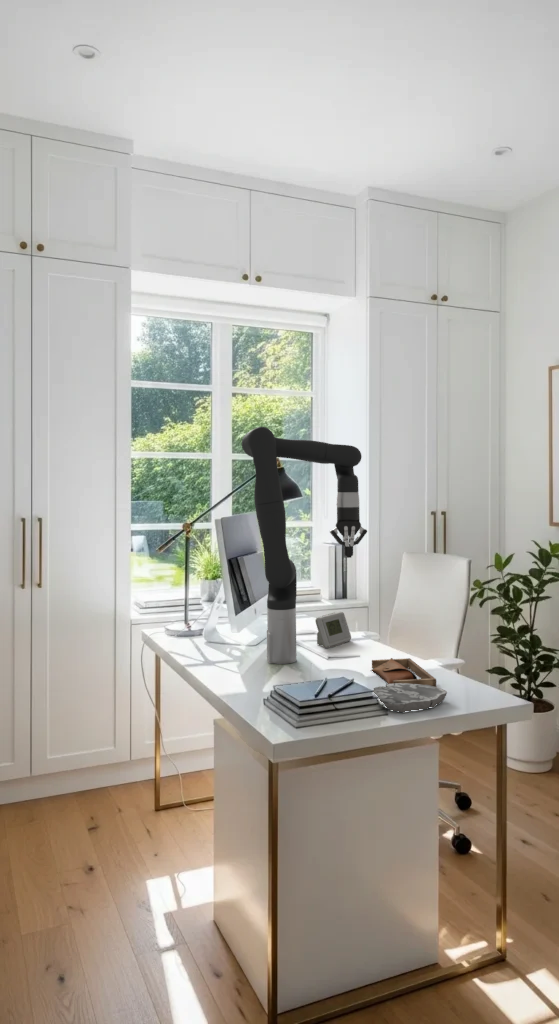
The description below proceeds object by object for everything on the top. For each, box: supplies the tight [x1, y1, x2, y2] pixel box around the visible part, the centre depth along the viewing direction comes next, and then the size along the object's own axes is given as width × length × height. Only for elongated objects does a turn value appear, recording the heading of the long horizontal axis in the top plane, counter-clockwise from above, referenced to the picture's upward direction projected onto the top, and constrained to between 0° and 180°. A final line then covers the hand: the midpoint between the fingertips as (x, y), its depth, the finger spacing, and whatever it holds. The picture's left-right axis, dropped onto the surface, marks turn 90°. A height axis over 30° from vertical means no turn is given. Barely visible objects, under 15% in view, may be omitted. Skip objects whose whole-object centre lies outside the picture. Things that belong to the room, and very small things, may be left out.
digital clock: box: [314, 611, 352, 649], centre depth 252 cm, size 16×9×11 cm, turn 130°
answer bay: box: [371, 657, 437, 687], centre depth 207 cm, size 12×24×2 cm, turn 7°
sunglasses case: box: [371, 657, 418, 684], centre depth 208 cm, size 18×7×7 cm, turn 12°
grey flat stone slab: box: [372, 683, 448, 712], centre depth 183 cm, size 20×17×3 cm
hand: (348, 557), depth 238 cm, fingers closed
